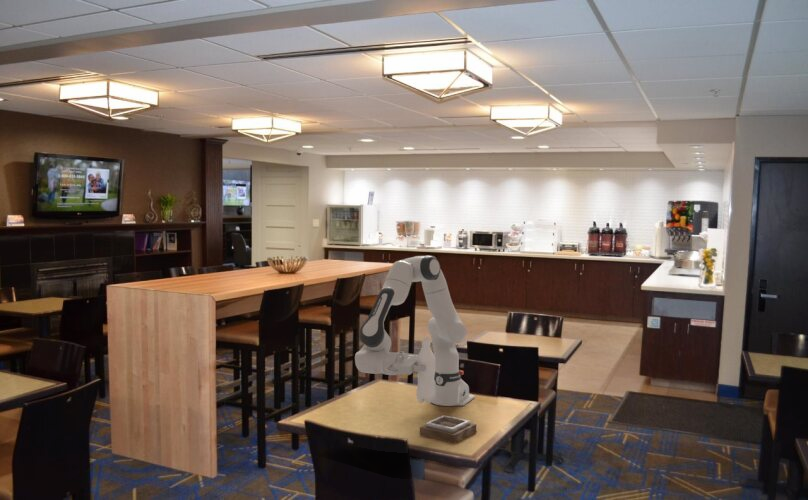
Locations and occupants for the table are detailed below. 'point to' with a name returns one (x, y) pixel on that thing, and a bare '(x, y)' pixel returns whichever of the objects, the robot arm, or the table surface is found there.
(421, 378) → the water bottle
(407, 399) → the table surface
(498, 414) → the table surface
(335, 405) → the table surface
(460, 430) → the display stand
